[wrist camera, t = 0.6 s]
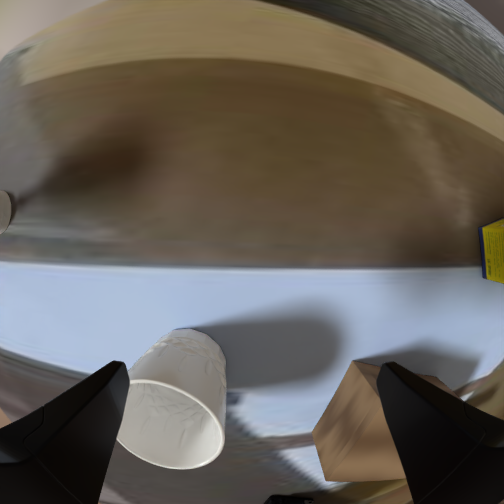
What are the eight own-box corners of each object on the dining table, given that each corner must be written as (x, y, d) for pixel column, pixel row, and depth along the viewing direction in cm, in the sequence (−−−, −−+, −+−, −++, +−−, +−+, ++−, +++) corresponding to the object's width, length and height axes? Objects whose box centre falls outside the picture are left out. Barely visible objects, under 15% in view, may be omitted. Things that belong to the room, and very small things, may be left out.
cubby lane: (396, 439, 25) (420, 476, 18) (311, 432, 25) (325, 481, 18) (436, 377, 25) (471, 408, 17) (352, 360, 24) (382, 403, 17)
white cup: (148, 315, 23) (95, 366, 14) (236, 327, 24) (228, 392, 14) (150, 388, 24) (113, 453, 14) (229, 400, 24) (221, 476, 14)
